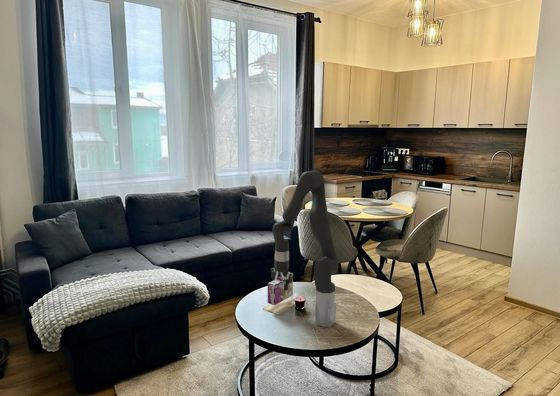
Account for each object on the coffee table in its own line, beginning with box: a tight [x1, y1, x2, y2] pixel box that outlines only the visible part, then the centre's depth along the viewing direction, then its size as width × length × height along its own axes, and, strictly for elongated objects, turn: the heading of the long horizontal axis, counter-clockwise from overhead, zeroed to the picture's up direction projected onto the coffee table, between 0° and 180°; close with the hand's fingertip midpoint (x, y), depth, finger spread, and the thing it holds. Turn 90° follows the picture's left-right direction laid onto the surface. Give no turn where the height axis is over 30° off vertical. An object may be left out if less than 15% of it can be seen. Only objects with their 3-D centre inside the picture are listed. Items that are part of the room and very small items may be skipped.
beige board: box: [262, 297, 295, 317], centre depth 205 cm, size 12×19×1 cm, turn 144°
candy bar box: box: [267, 277, 294, 305], centre depth 201 cm, size 11×5×16 cm
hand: (281, 288), depth 202 cm, fingers closed on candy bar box, 5 cm apart
